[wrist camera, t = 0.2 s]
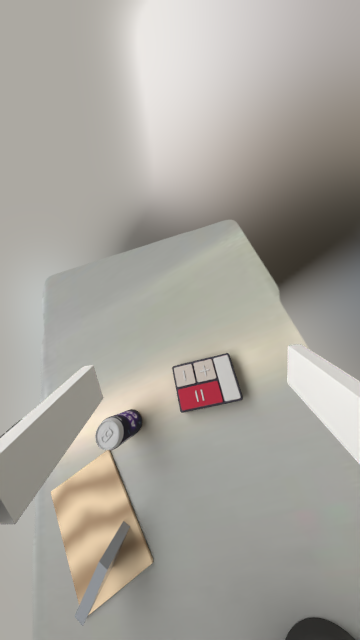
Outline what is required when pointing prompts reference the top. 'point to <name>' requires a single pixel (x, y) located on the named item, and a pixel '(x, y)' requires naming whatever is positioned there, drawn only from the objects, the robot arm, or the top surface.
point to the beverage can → (118, 429)
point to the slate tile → (101, 573)
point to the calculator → (206, 383)
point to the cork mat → (99, 527)
